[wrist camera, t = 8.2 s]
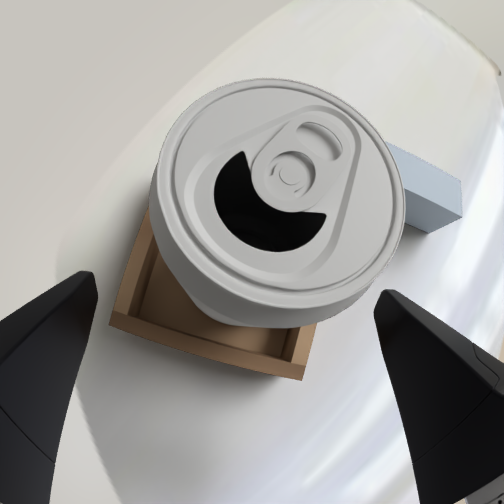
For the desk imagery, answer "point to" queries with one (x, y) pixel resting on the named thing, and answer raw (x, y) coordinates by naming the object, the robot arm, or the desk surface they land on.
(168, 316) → the tray
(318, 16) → the desk surface
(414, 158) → the block
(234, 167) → the beverage can
